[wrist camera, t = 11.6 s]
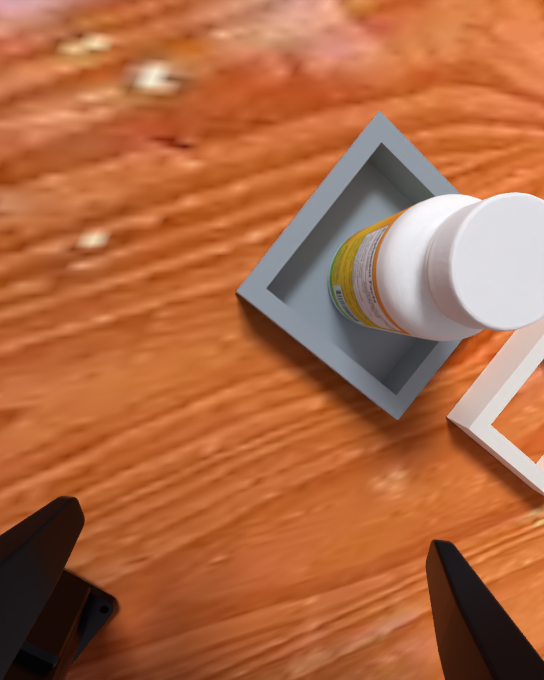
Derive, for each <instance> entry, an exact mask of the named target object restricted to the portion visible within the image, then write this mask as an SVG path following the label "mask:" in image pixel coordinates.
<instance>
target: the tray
mask: <svg viewBox="0 0 544 680" xmlns="http://www.w3.org/2000/svg"><path fill="white" fill-rule="evenodd" d="M447 194H460V193H459V192H458V191H457V190H456V189H455V188H454V187H453V186H452V185H451V184H450V183H449V182H448V181H447V180H446V178H445V177H444V176H443V175H442V174H441V173H440V172H439V171H438V170H437V169H436V168H435V167H434V166H433V165H432V164H431V163H430V162H429V161H428V160H427V159H426V158H425V157H424V156H423V155H422V154H421V153H420V152H419V151H418V150H417V149H416V148H415V147H414V146H413V145H412V144H411V142H410V141H409V140H408V139H407V138H406V137H405V136H404V135H403V134H402V133H401V132H400V131H399V130H398V129H397V128H396V127H395V126H394V125H393V124H392V123H391V122H390V121H389V120H388V119H387V118H386V117H385V116H384V115H383V114H382V113H381V112H380V111H379V112H378V113H377V114H376V116H375V117H374V118H373V119H372V120H371V122H370V123H369V124H368V125H367V126H366V127H365V129H364V130H363V131H362V132H361V133H360V134H359V136H358V137H357V138H356V139H355V141H354V142H353V143H352V145H351V146H350V147H349V148H348V150H347V151H346V152H345V153H344V155H343V156H342V157H341V158H340V160H339V161H338V162H337V164H336V165H335V166H334V167H333V169H332V170H331V171H330V172H329V174H328V175H327V176H326V177H325V179H324V180H323V181H322V183H321V184H320V185H319V186H318V188H317V189H316V190H315V191H314V193H313V194H312V195H311V197H310V198H309V199H308V200H307V202H306V203H305V204H304V205H303V207H302V208H301V209H300V210H299V212H298V213H297V214H296V216H295V217H294V218H293V219H292V221H291V222H290V223H289V224H288V226H287V227H286V228H285V229H284V231H283V232H282V233H281V235H280V236H279V237H278V238H277V240H276V241H275V242H274V243H273V245H272V246H271V247H270V248H269V250H268V251H267V252H266V254H265V255H264V256H263V257H262V259H261V260H260V261H259V262H258V264H257V265H256V266H255V267H254V269H253V270H252V271H251V273H250V274H249V275H248V276H247V278H246V279H245V280H244V281H243V283H242V284H241V285H240V287H239V288H238V289H237V290H236V293H237V294H238V295H239V296H241V297H242V298H243V299H244V300H246V301H247V302H248V303H249V304H251V305H252V306H253V307H254V308H256V309H257V310H258V311H259V312H261V313H262V314H263V315H264V316H266V317H267V318H268V319H269V320H271V321H272V322H273V323H274V324H276V325H277V326H278V327H279V328H281V329H282V330H283V331H284V332H286V333H287V334H288V335H289V336H291V337H292V338H293V339H294V340H296V341H297V342H298V343H299V344H300V345H302V346H303V347H304V348H305V349H307V350H308V351H309V352H310V353H312V354H313V355H314V356H315V357H317V358H318V359H319V360H320V361H322V362H323V363H324V364H325V365H327V366H328V367H329V368H330V369H332V370H333V371H334V372H335V373H337V374H338V375H339V376H340V377H342V378H343V379H344V380H345V381H347V382H348V383H349V384H350V385H352V386H353V387H354V388H355V389H357V390H358V391H359V392H360V393H362V394H363V395H364V396H365V397H367V398H368V399H369V400H370V401H372V402H373V403H374V404H375V405H377V406H378V407H379V408H381V409H382V410H384V411H385V412H386V413H388V414H389V415H391V416H392V417H393V418H395V419H396V420H399V418H400V417H401V416H402V415H403V413H404V412H405V411H406V410H407V408H408V407H409V406H410V405H411V403H412V402H413V401H414V400H415V398H416V397H417V396H418V395H419V393H420V392H421V391H422V390H423V388H424V387H425V386H426V385H427V383H428V382H429V381H430V380H431V378H432V377H433V376H434V375H435V373H436V372H437V371H438V370H439V368H440V367H441V366H442V364H443V363H444V362H445V361H446V359H447V358H448V357H449V356H450V354H451V353H452V352H453V351H454V349H455V348H456V347H457V346H458V344H459V343H460V342H461V341H462V339H460V340H455V341H434V340H428V339H422V338H418V337H413V336H408V335H403V334H398V333H394V332H389V331H384V330H379V329H374V328H369V327H365V326H361V325H358V324H356V323H354V322H352V321H350V320H348V319H347V318H346V317H345V316H343V315H342V314H341V313H340V312H339V310H338V309H337V308H336V306H335V304H334V303H333V301H332V298H331V295H330V292H329V287H328V272H329V267H330V264H331V261H332V258H333V256H334V254H335V253H336V251H337V249H338V248H339V247H340V246H341V244H342V243H343V242H344V241H345V240H347V239H348V238H349V237H351V236H352V235H354V234H355V233H357V232H359V231H361V230H363V229H365V228H367V227H369V226H371V225H373V224H376V223H378V222H380V221H382V220H384V219H386V218H388V217H390V216H392V215H395V214H397V213H399V212H401V211H403V210H405V209H407V208H409V207H411V206H413V205H415V204H417V203H420V202H422V201H425V200H427V199H430V198H433V197H436V196H441V195H447ZM460 195H461V194H460Z"/></svg>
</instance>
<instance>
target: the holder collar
mask: <svg viewBox="0 0 544 680" xmlns="http://www.w3.org/2000/svg"><path fill="white" fill-rule="evenodd" d="M543 359H544V317H543V318H542V319H540V320H539V321H537V322H536V323H534V324H532V325H530V326H527V327H524V328H521V329H517V330H515V332H514V333H513V334H512V335H511V337H510V338H509V339H508V340H507V342H506V343H505V344H504V345H503V347H502V348H501V349H500V350H499V352H498V353H497V354H496V355H495V357H494V358H493V359H492V360H491V362H490V363H489V364H488V365H487V367H486V368H485V369H484V370H483V372H482V373H481V374H480V375H479V377H478V378H477V379H476V380H475V382H474V383H473V384H472V385H471V387H470V388H469V389H468V390H467V392H466V393H465V394H464V395H463V397H462V398H461V399H460V400H459V402H458V403H457V404H456V405H455V407H454V408H453V409H452V410H451V412H450V413H449V414H448V415H447V418H448V419H449V420H451V421H452V422H453V423H454V424H455V425H457V426H458V427H459V428H460V429H461V430H463V431H464V432H465V433H466V434H467V435H469V436H470V437H471V438H472V439H473V440H475V441H476V442H477V443H478V444H479V445H480V446H482V447H483V448H484V449H485V450H486V451H488V452H489V453H490V454H491V455H492V456H494V457H495V458H496V459H497V460H498V461H500V462H501V463H502V464H503V465H504V466H506V467H507V468H508V469H509V470H510V471H512V472H513V473H514V474H515V475H516V476H518V477H519V478H520V479H521V480H522V481H523V482H525V483H526V484H527V485H528V486H529V487H531V488H532V489H533V490H535V491H537V492H538V493H540V494H542V495H543V496H544V455H543V456H542V457H541V458H540V459H539V461H538V462H537V463H536V464H535V463H534V462H533V461H532V460H531V459H529V458H528V457H527V456H526V455H525V454H524V453H523V452H521V451H520V450H519V449H518V448H517V447H516V446H514V445H513V444H512V443H511V442H510V441H509V440H507V439H506V438H505V437H504V436H503V435H502V434H500V433H499V432H498V431H497V430H496V429H495V428H493V427H492V426H491V424H492V422H493V421H494V420H495V419H496V417H497V416H498V415H499V414H500V413H501V411H502V410H503V409H504V408H505V406H506V405H507V404H508V403H509V401H510V400H511V399H512V398H513V396H514V395H515V394H516V393H517V391H518V390H519V389H520V388H521V386H522V385H523V384H524V383H525V381H526V380H527V379H528V378H529V376H530V375H531V374H532V373H533V371H534V370H535V369H536V368H537V366H538V365H539V364H540V363H541V361H542V360H543Z"/></svg>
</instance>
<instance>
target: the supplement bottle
mask: <svg viewBox="0 0 544 680" xmlns="http://www.w3.org/2000/svg"><path fill="white" fill-rule="evenodd" d="M328 287H329V292H330V295H331V298H332V301H333V303H334V304H335V306H336V308H337V309H338V310H339V312H340V313H341V314H342V315H343V316H345V317H346V318H347V319H348V320H350V321H352V322H354V323H356V324H358V325H361V326H365V327H369V328H374V329H379V330H384V331H389V332H394V333H398V334H403V335H408V336H413V337H418V338H422V339H428V340H434V341H455V340H460V339H464V338H468V337H470V336H473V335H475V334H477V333H479V332H481V331H482V330H484V329H486V330H497V331H511V330H517V329H521V328H524V327H527V326H530V325H532V324H534V323H536V322H537V321H539V320H540V319H542V318H543V317H544V200H542V199H540V198H538V197H536V196H533V195H530V194H525V193H516V192H515V193H504V194H500V195H496V196H493V197H490V198H487V199H485V200H480V199H477V198H475V197H471V196H467V195H460V194H447V195H441V196H436V197H433V198H430V199H427V200H425V201H422V202H420V203H417V204H415V205H413V206H411V207H409V208H407V209H405V210H403V211H401V212H399V213H397V214H395V215H392V216H390V217H388V218H386V219H384V220H382V221H380V222H378V223H376V224H373V225H371V226H369V227H367V228H365V229H363V230H361V231H359V232H357V233H355V234H354V235H352V236H351V237H349V238H348V239H347V240H345V241H344V242H343V243H342V244H341V246H340V247H339V248H338V249H337V251H336V253H335V254H334V256H333V258H332V261H331V264H330V267H329V272H328Z"/></svg>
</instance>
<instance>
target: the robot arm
mask: <svg viewBox="0 0 544 680" xmlns="http://www.w3.org/2000/svg"><path fill="white" fill-rule="evenodd" d="M84 521H85V518H84V514H83V512H82V509H81V506H80V504H79V501H78V499H77V498H75V497H69V496H60V497H58V498H56V499H55V500H53V501H52V502H50V503H49V504H47V505H46V506H44V507H43V508H41V509H40V510H38V511H37V512H35V513H34V514H32V515H31V516H29V517H28V518H26V519H24V520H23V521H21V522H20V523H18V524H17V525H15V526H14V527H12V528H11V529H9V530H8V531H6V532H5V533H3V534H2V535H0V680H65V678H66V676H67V673H68V671H69V668H70V666H71V664H72V663H73V662H74V661H75V659H76V658H77V657H78V656H79V654H80V653H81V652H82V650H83V649H84V648H85V647H86V645H87V644H88V643H89V642H90V640H91V639H92V638H93V637H94V635H95V634H96V633H97V632H98V630H99V629H100V628H101V627H102V625H103V624H104V623H105V622H106V620H107V619H108V618H109V616H110V615H111V614H112V612H113V610H114V607H115V599H114V598H113V597H111V596H109V595H108V594H106V593H104V592H102V591H100V590H98V589H97V588H95V587H93V586H91V585H89V584H87V583H86V582H84V581H82V580H80V579H78V578H76V577H75V576H73V575H71V574H69V573H67V572H65V571H64V570H63V569H64V567H65V565H66V563H67V561H68V558H69V556H70V554H71V552H72V550H73V548H74V546H75V543H76V541H77V539H78V537H79V535H80V533H81V531H82V528H83V526H84ZM426 574H427V581H428V588H429V594H430V601H431V607H432V614H433V620H434V627H435V634H436V640H437V646H438V652H439V656H440V660H441V665H442V669H443V673H444V677H445V680H544V661H543V659H542V658H541V657H540V655H539V654H538V653H537V652H536V650H535V649H534V648H533V646H532V645H531V644H530V642H529V641H528V640H527V639H526V637H525V636H524V635H523V633H522V632H521V631H520V630H519V628H518V627H517V626H516V624H515V623H514V622H513V620H512V619H511V618H510V617H509V615H508V614H507V613H506V611H505V610H504V609H503V607H502V606H501V605H500V604H499V602H498V601H497V600H496V598H495V597H494V596H493V595H492V593H491V592H490V591H489V589H488V588H487V587H486V585H485V584H484V583H483V582H482V580H481V579H480V578H479V576H478V575H477V574H476V572H475V571H474V570H473V569H472V567H471V566H470V565H469V563H468V562H467V561H466V560H465V558H464V557H463V556H462V554H461V553H460V552H459V550H458V549H457V548H456V547H455V545H454V544H453V543H451V542H450V541H444V540H436V539H435V540H432V542H431V544H430V548H429V552H428V556H427V559H426ZM103 606H107V607H103Z"/></svg>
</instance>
